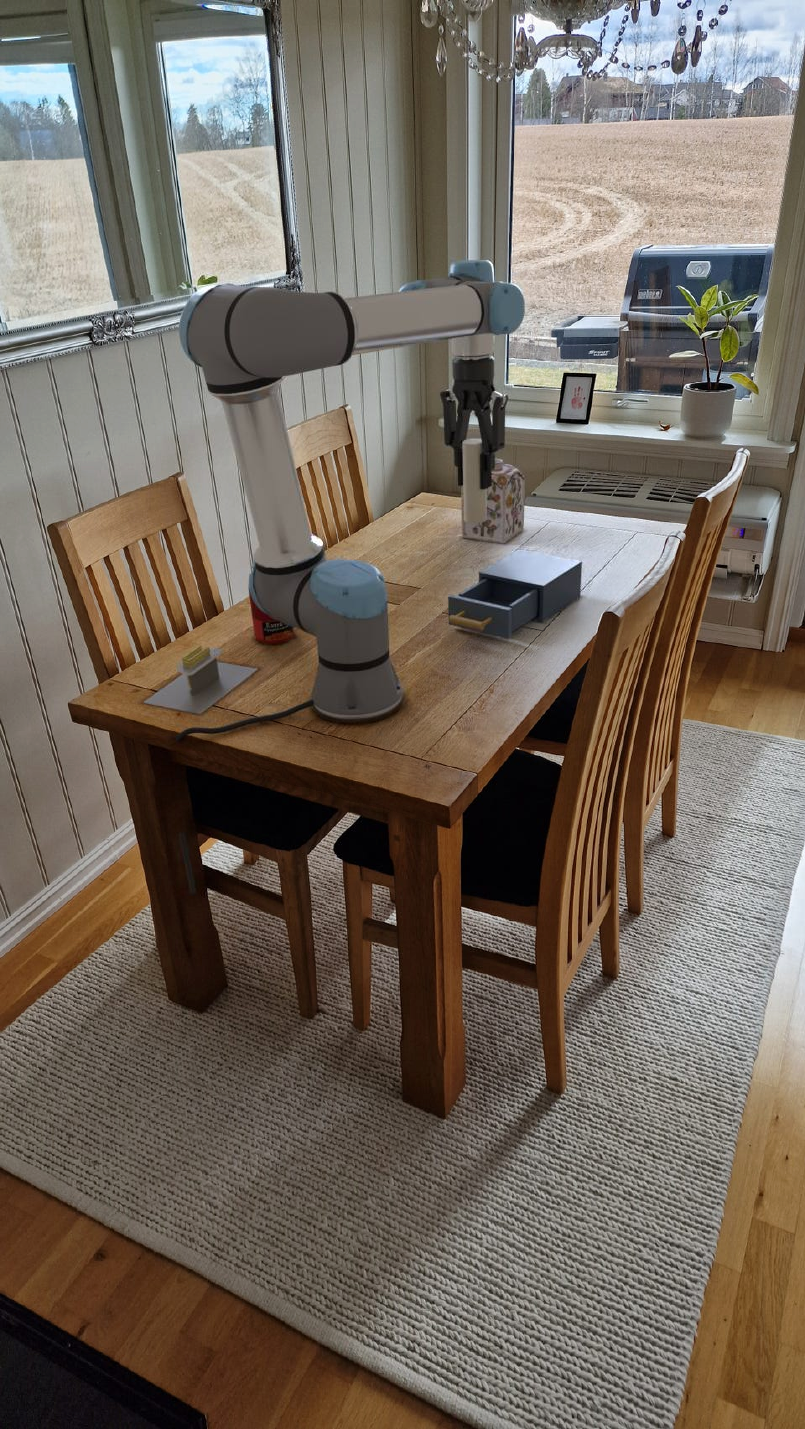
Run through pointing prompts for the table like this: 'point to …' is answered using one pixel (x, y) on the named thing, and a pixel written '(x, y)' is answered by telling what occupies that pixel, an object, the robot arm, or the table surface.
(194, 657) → the platform
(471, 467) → the candle
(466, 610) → the drawer
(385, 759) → the table surface
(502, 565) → the cabinet
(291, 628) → the canned food
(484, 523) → the decorative jar
